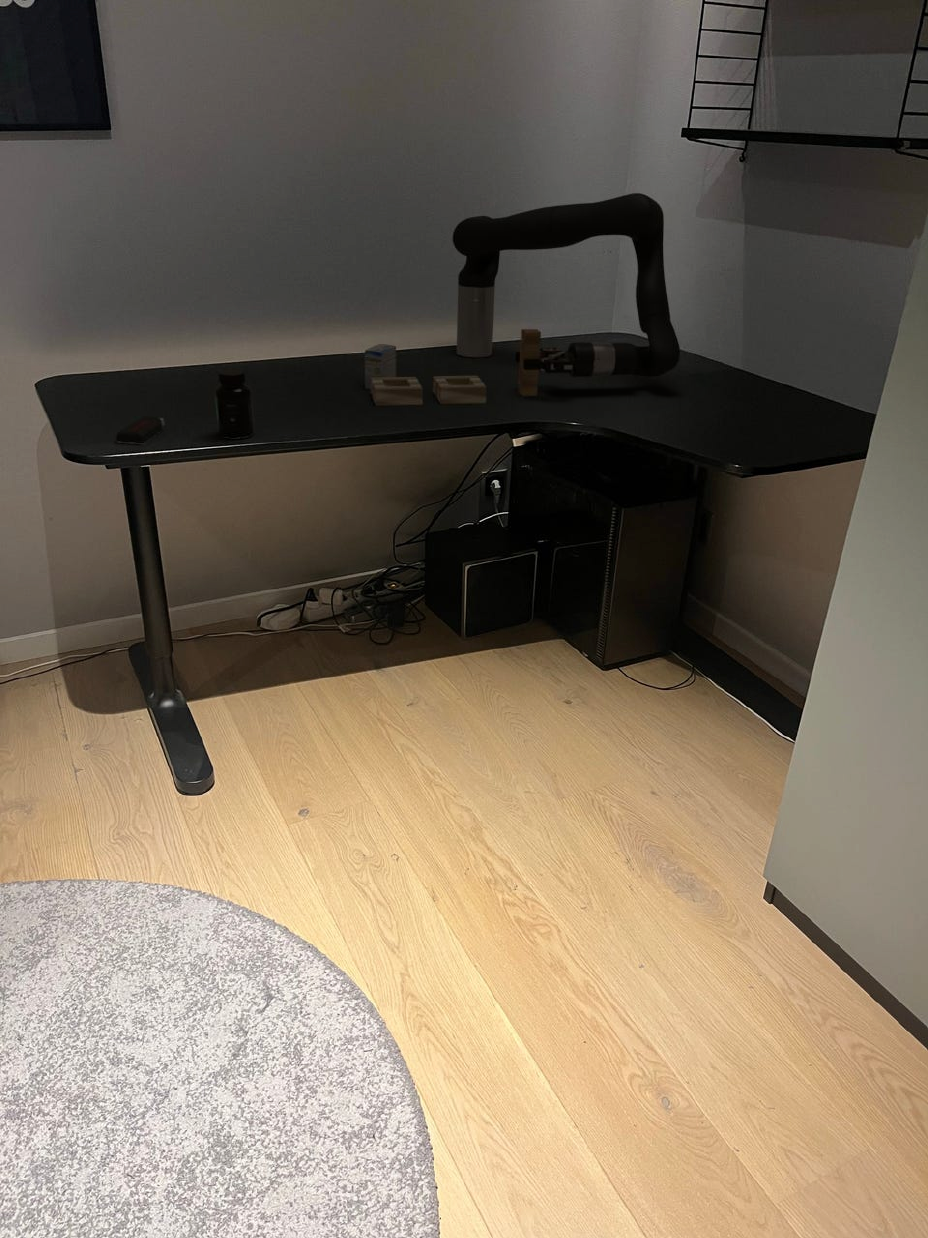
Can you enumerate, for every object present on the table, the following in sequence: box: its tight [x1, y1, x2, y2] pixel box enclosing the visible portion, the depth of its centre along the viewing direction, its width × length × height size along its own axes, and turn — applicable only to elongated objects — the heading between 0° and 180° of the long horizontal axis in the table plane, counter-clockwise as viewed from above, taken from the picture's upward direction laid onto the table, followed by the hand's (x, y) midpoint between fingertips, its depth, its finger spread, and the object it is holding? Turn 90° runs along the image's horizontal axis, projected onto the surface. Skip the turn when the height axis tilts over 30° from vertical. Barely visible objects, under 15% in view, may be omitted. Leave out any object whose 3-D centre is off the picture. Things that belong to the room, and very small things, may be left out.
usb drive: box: [115, 416, 166, 443], centre depth 185 cm, size 5×12×3 cm, turn 172°
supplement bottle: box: [214, 368, 255, 438], centre depth 185 cm, size 7×7×12 cm
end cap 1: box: [370, 376, 424, 407], centre depth 212 cm, size 10×10×4 cm
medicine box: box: [364, 343, 397, 390], centre depth 221 cm, size 8×4×9 cm, turn 160°
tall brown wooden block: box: [517, 328, 542, 397], centre depth 217 cm, size 4×4×14 cm
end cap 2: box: [432, 375, 488, 405], centre depth 215 cm, size 10×10×4 cm
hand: (519, 360), depth 216 cm, fingers open, 6 cm apart
